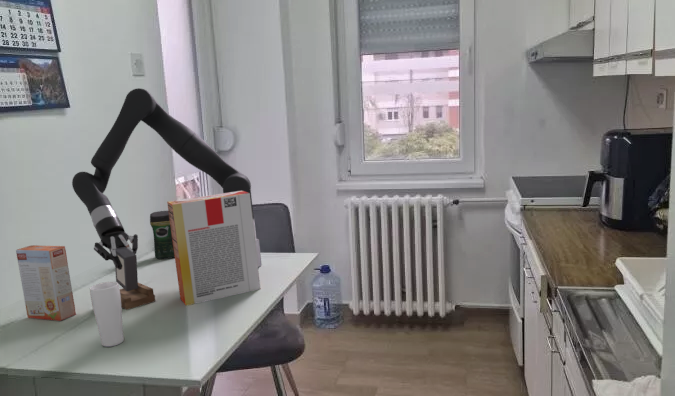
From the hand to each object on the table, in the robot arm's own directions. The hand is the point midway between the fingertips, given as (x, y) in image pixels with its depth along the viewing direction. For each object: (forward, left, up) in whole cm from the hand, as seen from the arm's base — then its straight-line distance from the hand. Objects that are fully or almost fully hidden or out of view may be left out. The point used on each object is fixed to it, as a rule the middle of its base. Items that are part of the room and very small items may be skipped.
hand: (127, 266), depth 176 cm
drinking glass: (-16, +29, -11) cm, 35 cm away
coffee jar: (+22, -50, -11) cm, 56 cm away
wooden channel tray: (+2, -1, -11) cm, 11 cm away
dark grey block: (+2, -1, -6) cm, 7 cm away
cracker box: (+18, +14, -11) cm, 25 cm away
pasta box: (-25, -9, -11) cm, 29 cm away
